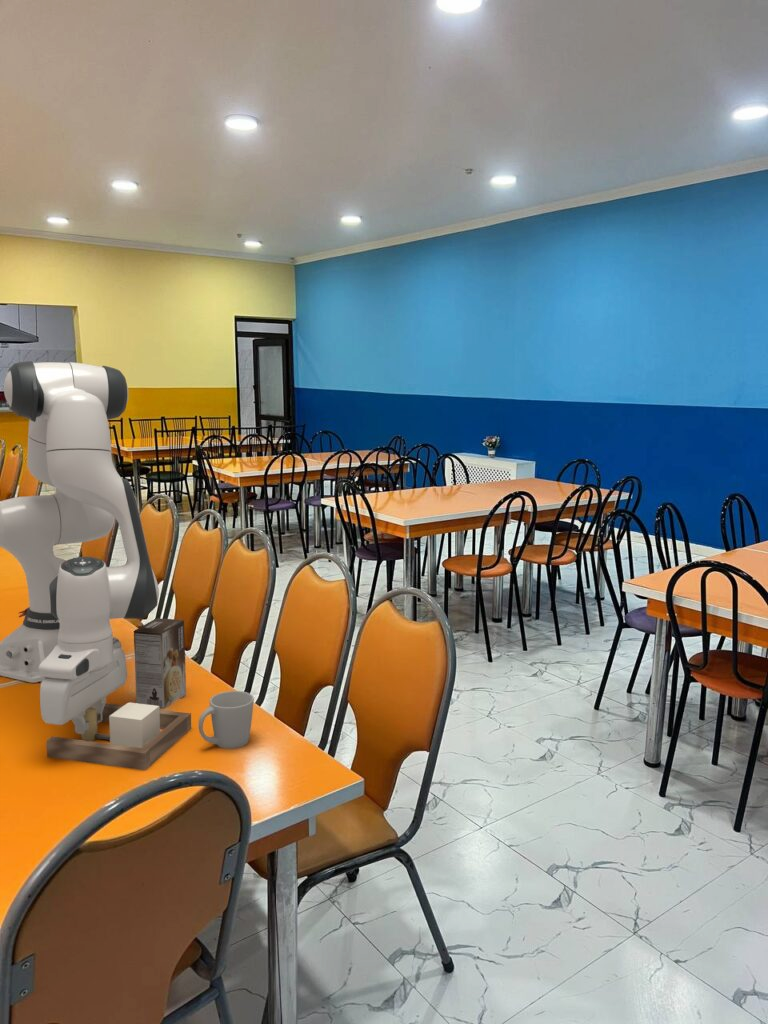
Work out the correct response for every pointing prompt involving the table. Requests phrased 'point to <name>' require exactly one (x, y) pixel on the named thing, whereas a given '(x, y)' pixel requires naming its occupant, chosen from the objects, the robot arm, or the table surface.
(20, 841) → the table surface
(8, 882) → the table surface
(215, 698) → the cup
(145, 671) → the coffee box
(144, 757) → the shelf lane
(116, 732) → the white cube and knob
